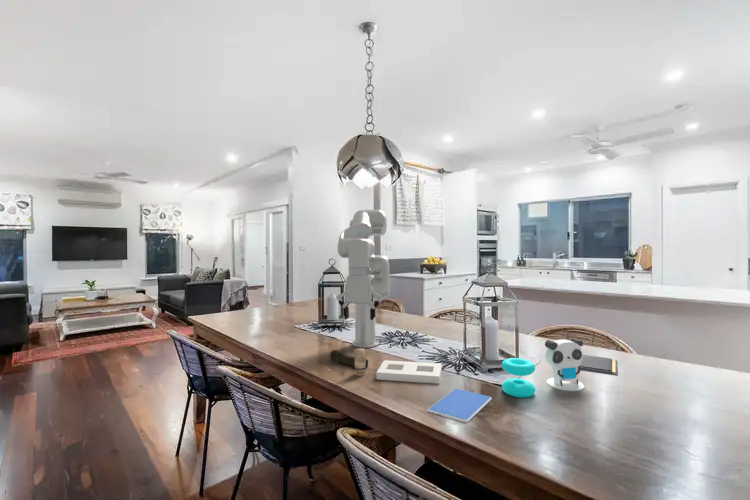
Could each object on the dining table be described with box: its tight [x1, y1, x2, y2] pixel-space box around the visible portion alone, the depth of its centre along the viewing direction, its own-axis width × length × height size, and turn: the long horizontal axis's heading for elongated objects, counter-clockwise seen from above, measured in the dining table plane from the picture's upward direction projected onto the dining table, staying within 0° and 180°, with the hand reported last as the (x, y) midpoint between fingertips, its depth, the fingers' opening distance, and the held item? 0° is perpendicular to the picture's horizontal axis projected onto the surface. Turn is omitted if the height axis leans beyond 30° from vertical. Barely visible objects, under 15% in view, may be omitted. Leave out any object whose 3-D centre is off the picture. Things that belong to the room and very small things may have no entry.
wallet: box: [578, 354, 619, 377], centre depth 148 cm, size 20×2×15 cm
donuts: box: [501, 357, 536, 399], centre depth 122 cm, size 10×10×10 cm
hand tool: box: [329, 349, 369, 369], centre depth 152 cm, size 19×4×5 cm, turn 49°
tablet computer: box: [426, 388, 493, 424], centre depth 113 cm, size 19×13×1 cm, turn 143°
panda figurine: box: [544, 337, 585, 392], centre depth 128 cm, size 12×11×15 cm
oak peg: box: [354, 348, 367, 377], centre depth 140 cm, size 4×4×9 cm
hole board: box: [376, 360, 442, 385], centre depth 139 cm, size 14×22×2 cm, turn 77°
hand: (359, 318), depth 140 cm, fingers open, 9 cm apart
